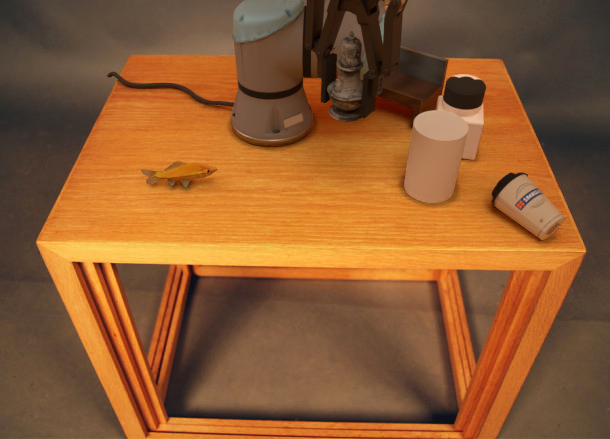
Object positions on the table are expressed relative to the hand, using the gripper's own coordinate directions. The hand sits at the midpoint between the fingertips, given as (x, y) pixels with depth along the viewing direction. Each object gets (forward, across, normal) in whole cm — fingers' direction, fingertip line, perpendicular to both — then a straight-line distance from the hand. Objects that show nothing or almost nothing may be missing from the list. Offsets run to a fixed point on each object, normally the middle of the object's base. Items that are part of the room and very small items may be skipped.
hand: (347, 105), depth 80 cm
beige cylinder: (+17, +11, +10) cm, 22 cm away
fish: (+17, -23, -13) cm, 31 cm away
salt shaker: (+1, 0, 0) cm, 1 cm away
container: (+17, +9, +23) cm, 30 cm away
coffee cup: (+14, +31, +9) cm, 35 cm away
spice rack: (+17, -6, +29) cm, 34 cm away
